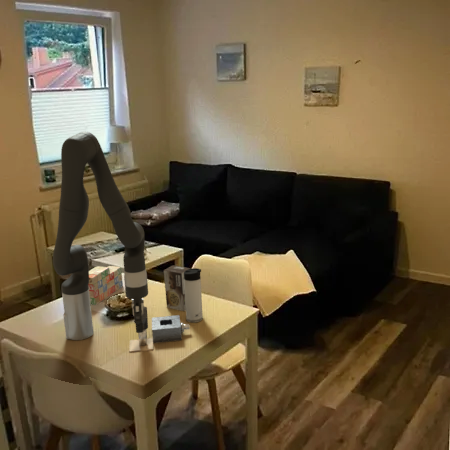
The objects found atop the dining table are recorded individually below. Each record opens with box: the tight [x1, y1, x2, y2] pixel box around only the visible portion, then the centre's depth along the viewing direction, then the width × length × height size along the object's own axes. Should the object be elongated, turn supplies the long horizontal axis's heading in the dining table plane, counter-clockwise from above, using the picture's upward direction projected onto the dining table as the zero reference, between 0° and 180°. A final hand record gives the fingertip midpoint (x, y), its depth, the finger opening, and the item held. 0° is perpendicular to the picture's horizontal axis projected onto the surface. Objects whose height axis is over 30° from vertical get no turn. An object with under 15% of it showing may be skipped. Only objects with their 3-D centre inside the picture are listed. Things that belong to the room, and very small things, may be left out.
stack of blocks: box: [88, 265, 124, 306], centre depth 228 cm, size 21×6×12 cm, turn 159°
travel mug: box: [184, 268, 204, 323], centre depth 200 cm, size 6×7×20 cm
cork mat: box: [128, 337, 154, 353], centre depth 184 cm, size 8×8×1 cm
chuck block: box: [151, 314, 191, 344], centre depth 190 cm, size 13×10×5 cm
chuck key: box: [136, 306, 149, 346], centre depth 182 cm, size 4×4×13 cm
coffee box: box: [163, 265, 192, 312], centre depth 212 cm, size 9×6×16 cm
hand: (139, 326), depth 182 cm, fingers open, 8 cm apart
